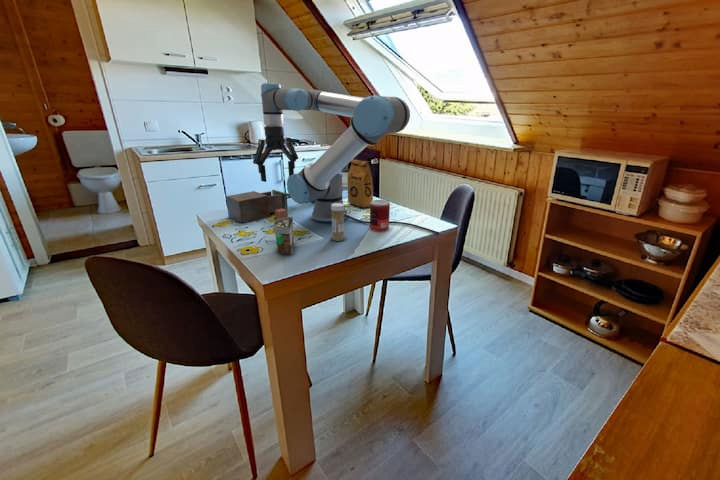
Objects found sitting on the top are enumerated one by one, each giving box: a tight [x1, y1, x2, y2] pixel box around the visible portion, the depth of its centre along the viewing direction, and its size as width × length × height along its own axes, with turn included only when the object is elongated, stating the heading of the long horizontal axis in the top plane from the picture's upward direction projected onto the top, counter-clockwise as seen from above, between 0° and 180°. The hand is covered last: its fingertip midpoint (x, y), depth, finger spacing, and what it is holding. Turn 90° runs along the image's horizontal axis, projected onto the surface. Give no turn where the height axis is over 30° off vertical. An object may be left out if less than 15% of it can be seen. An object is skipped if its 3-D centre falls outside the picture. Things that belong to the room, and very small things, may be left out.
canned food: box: [369, 199, 391, 232], centre depth 138 cm, size 8×8×11 cm
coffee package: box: [347, 159, 374, 209], centre depth 169 cm, size 10×12×22 cm
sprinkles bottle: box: [331, 203, 345, 242], centre depth 126 cm, size 5×5×13 cm
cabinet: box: [225, 190, 271, 224], centre depth 152 cm, size 14×12×10 cm
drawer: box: [260, 189, 292, 214], centre depth 161 cm, size 18×10×8 cm, turn 136°
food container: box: [272, 216, 295, 256], centre depth 117 cm, size 12×6×10 cm, turn 5°
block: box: [274, 208, 289, 220], centre depth 150 cm, size 4×4×4 cm
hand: (278, 179), depth 145 cm, fingers open, 13 cm apart
